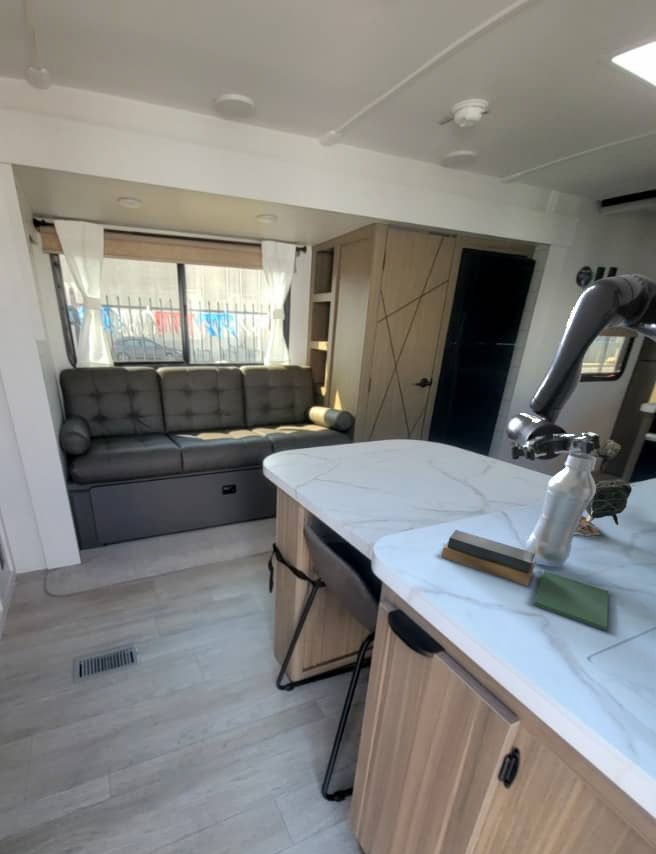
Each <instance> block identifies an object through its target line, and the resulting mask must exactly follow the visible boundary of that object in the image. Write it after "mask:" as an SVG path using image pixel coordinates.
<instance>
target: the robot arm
mask: <svg viewBox="0 0 656 854" xmlns="http://www.w3.org/2000/svg"><path fill="white" fill-rule="evenodd" d="M615 328H625V329H629V330H631V331H633V332H636V333H638V334H640V335H643V336H645V337H647V338H649V339H651V340H652V341H654V343H656V281H655V280H653V279H652V278H649V277H648V276H646V275H643V274H639V273H627V274H621V275H615V276H608V277H602V278H599V279H596V280H595V281H593V282H591V283H589V284H588V285H587V286H586V287H585V288H584V289H583V290H582V292H581V293H580V294H579V296H578V298H577V300H576V302H575V304H574V306H573V308H572V311H571V313H570V315H569V318H568V321H567V324H566V326H565V329H564V331H563V334H562V336H561V339H560V341H559V343H558V347H557V349H556V352H555V353H554V357H553V359H552V361H551V364H550V366H549V368H548V370H547V371H546V373H545V375H544V377H543V379H542V380H541V382H540V384H539V386H538V387H537V389H536V390H535V392H534V393H533V396H532V397H531V399H530V401H529V404H528V405H529V409H530V411H532V413H534V414H535V415H538V416H539V417H538V416H534V415H530V414H527V413H518V414H515V415H514V416H512V417H511V418H510V419H509V421H508V422H507V424H506V427H505V435H506V438H507V439H508V440H509V441H511V442H510V443H509V448H510V456H511V459H512V460H518V459H520V457H522V459H525V460H529V461H530V462H532V461H535V460H542V461H548V460H549V461H550V460H552V459H555V458H557V457H559V456H561V455H562V454H570V453H578V452H582V454H587V455H590V454H591V453H592V452H593V451H595V450H597V449H598V448H600V446H601V445H600V443H601V442H600V437H601V434H598V433H595V432H592V431H584V432H581V436H579V435H578V434H577V433H574V434H573V433H569V434H568V432H567V431H566V430H565V429H564V428H563V427H561V426H560V425H558V421H559V418H560V417H561V414H562V412H563V410H564V408H565V407H566V405H567V404H568V402H569V401H570V400H571V398H572V396H573V395H574V393H575V392H576V390H577V389H578V387H579V385H580V382H581V378H582V373H583V372H582V371H583V363H584V360H585V356H586V354H587V352H588V350H589V349H590V347H591V346H592V344H593V343H594V341H596V339H597V338H598V337H599V335H600V334H602V332H603V331H604V330H611V329H615ZM579 444H580V446H579Z"/></svg>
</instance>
